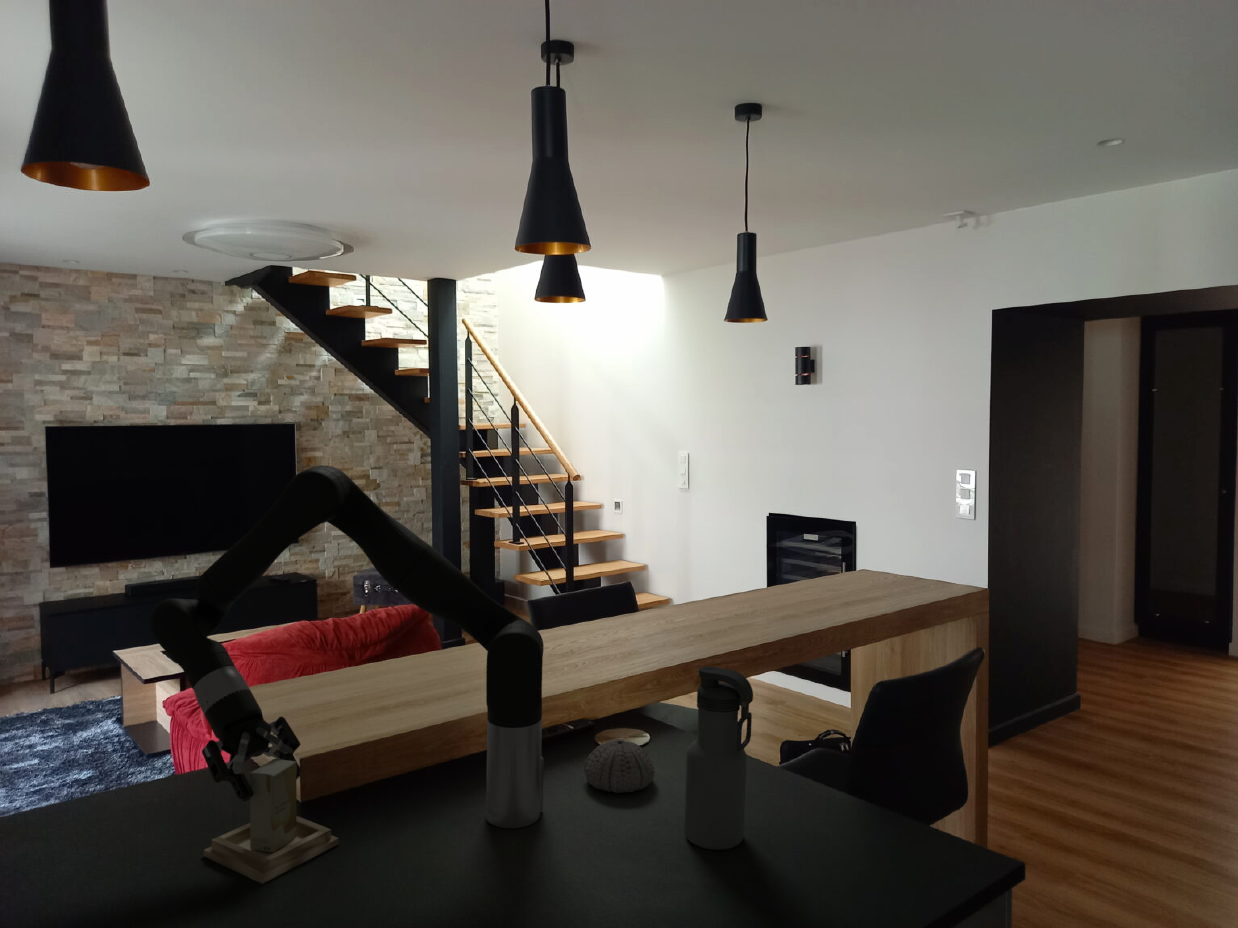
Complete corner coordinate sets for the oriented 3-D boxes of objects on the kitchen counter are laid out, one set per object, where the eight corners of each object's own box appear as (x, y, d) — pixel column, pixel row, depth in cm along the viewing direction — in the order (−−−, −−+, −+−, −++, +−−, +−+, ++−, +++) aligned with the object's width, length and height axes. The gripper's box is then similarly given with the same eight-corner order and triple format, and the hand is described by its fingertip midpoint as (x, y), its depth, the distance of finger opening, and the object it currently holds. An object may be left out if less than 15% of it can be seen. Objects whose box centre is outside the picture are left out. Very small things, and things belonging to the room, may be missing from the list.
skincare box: (273, 854, 134) (272, 776, 133) (248, 850, 135) (248, 772, 134) (298, 834, 140) (298, 759, 139) (274, 830, 141) (274, 756, 140)
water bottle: (753, 831, 147) (759, 667, 145) (735, 858, 138) (742, 684, 136) (696, 818, 151) (701, 659, 149) (675, 843, 142) (680, 674, 141)
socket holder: (281, 820, 147) (281, 806, 147) (338, 843, 139) (338, 828, 139) (203, 855, 135) (203, 840, 135) (262, 883, 128) (262, 867, 127)
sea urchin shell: (572, 776, 168) (573, 735, 167) (634, 764, 174) (635, 724, 173) (602, 804, 156) (603, 760, 155) (668, 791, 162) (669, 748, 161)
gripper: (196, 700, 134) (243, 792, 129) (275, 677, 146) (322, 760, 141) (175, 727, 137) (221, 818, 132) (255, 702, 149) (300, 784, 144)
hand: (273, 788), depth 136 cm, fingers open, 8 cm apart
